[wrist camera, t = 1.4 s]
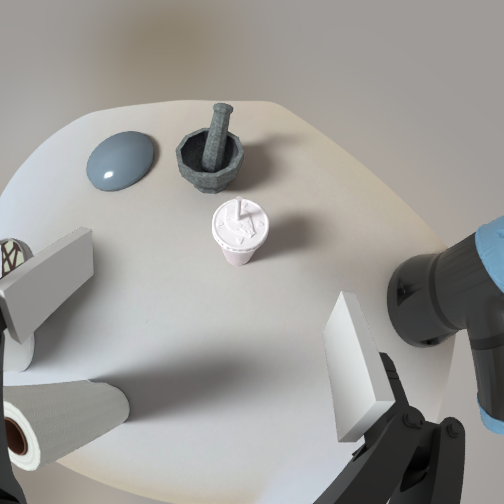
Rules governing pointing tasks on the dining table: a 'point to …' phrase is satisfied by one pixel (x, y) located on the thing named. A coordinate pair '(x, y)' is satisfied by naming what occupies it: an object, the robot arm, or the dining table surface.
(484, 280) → the robot arm
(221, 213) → the smoothie
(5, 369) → the jar
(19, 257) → the food container
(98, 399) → the paper towel roll
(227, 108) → the mortar and pestle
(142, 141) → the dish
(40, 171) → the dining table surface
